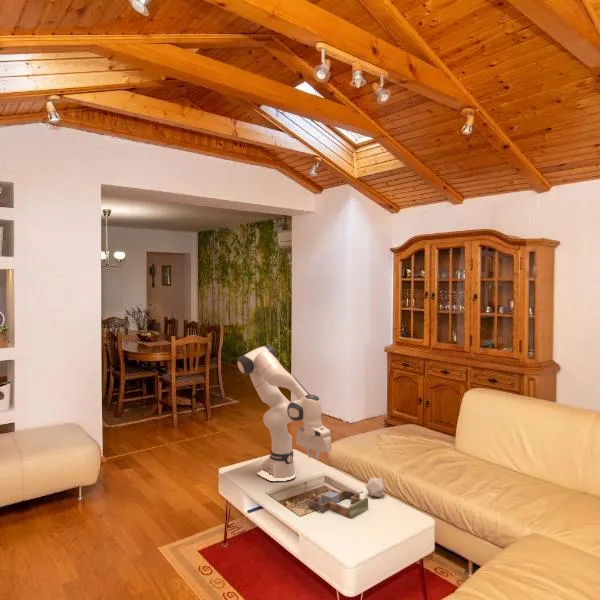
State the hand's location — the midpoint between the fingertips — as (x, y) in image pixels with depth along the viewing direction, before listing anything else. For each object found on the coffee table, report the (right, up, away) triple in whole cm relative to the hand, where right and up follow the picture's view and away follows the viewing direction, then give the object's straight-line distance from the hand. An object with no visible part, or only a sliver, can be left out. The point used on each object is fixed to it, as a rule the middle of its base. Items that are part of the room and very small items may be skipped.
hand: (313, 458), depth 231 cm
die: (+30, -19, +1) cm, 35 cm away
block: (+8, -19, -7) cm, 22 cm away
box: (+11, -19, -10) cm, 24 cm away
